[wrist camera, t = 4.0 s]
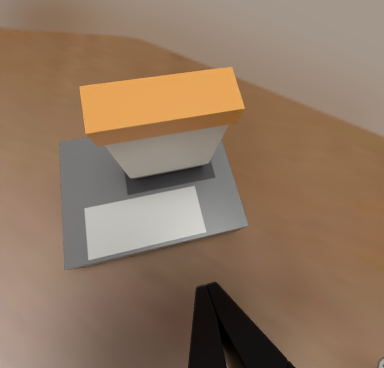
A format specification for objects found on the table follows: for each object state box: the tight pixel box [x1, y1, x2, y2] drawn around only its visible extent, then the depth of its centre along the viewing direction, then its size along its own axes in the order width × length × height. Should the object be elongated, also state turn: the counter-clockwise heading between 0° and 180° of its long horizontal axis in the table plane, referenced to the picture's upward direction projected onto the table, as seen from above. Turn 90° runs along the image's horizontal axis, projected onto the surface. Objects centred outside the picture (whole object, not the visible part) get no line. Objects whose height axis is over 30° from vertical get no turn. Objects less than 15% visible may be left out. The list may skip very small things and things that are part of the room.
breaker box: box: [59, 137, 249, 270], centre depth 22 cm, size 12×16×4 cm
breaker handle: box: [79, 67, 245, 179], centre depth 15 cm, size 2×7×10 cm, turn 103°
